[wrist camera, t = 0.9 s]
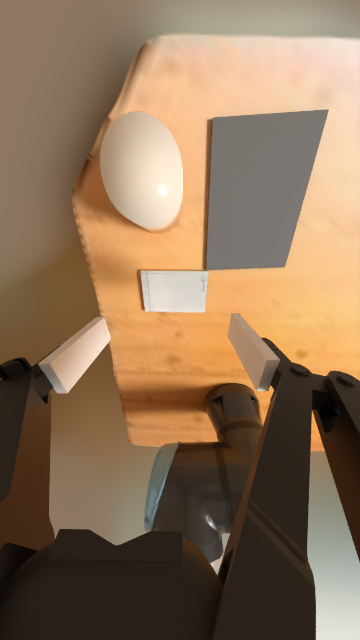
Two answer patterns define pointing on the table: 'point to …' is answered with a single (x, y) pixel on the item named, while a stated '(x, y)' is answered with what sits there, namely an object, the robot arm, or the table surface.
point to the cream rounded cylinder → (143, 171)
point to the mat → (258, 186)
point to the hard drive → (174, 290)
